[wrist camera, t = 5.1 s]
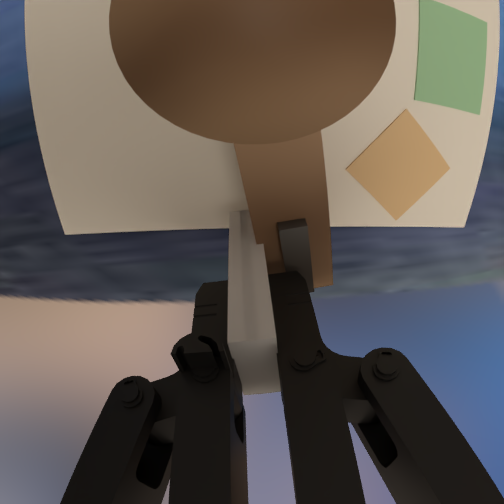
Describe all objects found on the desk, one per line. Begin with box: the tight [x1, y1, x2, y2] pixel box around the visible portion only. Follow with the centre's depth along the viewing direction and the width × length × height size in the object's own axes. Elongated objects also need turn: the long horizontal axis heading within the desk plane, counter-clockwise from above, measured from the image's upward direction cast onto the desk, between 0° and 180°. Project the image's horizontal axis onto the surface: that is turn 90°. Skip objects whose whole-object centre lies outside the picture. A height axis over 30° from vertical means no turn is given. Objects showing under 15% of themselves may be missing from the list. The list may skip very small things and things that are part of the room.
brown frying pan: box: [109, 0, 396, 293], centre depth 9 cm, size 13×7×5 cm, turn 11°
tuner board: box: [25, 0, 500, 235], centre depth 10 cm, size 18×22×1 cm
